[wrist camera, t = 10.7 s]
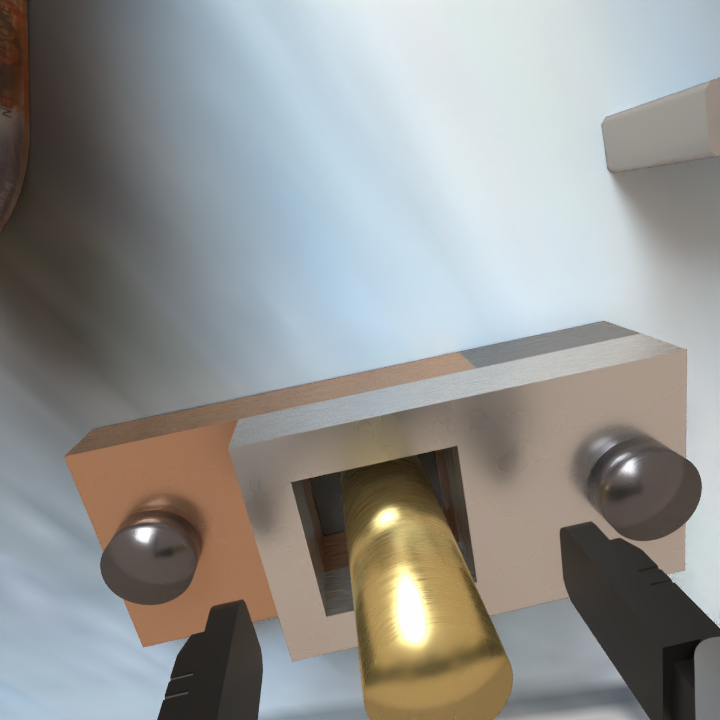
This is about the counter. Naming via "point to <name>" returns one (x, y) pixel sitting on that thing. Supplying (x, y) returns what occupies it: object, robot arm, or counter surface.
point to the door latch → (384, 443)
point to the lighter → (665, 130)
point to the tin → (13, 103)
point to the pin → (416, 603)
